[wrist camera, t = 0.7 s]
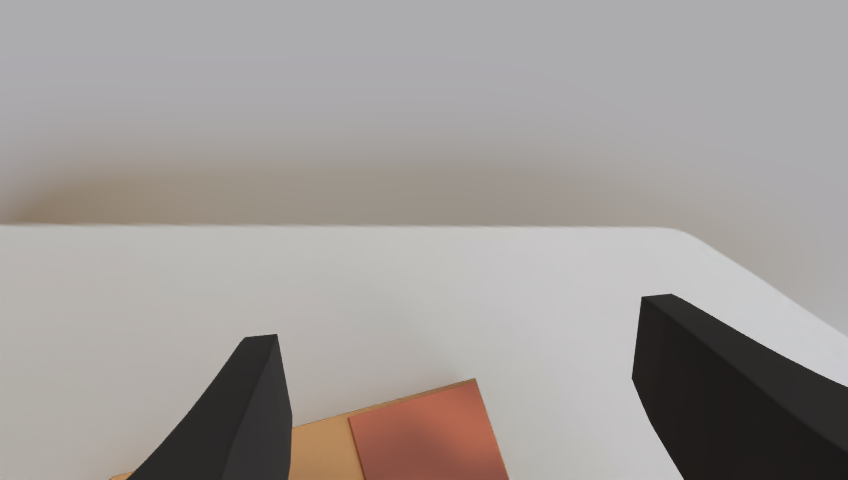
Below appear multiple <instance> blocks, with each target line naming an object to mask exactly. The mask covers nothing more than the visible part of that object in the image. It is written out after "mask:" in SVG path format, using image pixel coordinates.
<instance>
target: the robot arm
mask: <svg viewBox="0 0 848 480" xmlns="http://www.w3.org/2000/svg"><path fill="white" fill-rule="evenodd" d="M632 380H633V382H634V385H635V387H636V390H637V392H638V395H639V397H640V400H641V402H642V405H643V407H644V409H645V411H646V414H647V416H648V418H649V421H650V423H651V424H652V426H653V428H654V430H655V431H656V433H657V435H658V437H659V438H660V440H661V442H662V443H663V445H664V447H665V448H666V450H667V452H668V454H669V455H670V457H671V459H672V460H673V462H674V464H675V465H676V467H677V469H678V470H679V472H680V474H681V475H682V477H683V479H684V480H848V387H846V386H844V385H841V384H839V383H837V382H835V381H832V380H830V379H828V378H826V377H824V376H822V375H819V374H817V373H815V372H813V371H811V370H809V369H807V368H805V367H803V366H802V365H800V364H798V363H796V362H794V361H792V360H790V359H788V358H786V357H784V356H782V355H780V354H778V353H776V352H774V351H773V350H771V349H769V348H767V347H765V346H763V345H762V344H760V343H758V342H756V341H754V340H753V339H751V338H749V337H747V336H746V335H744V334H742V333H740V332H739V331H737V330H735V329H733V328H732V327H730V326H728V325H727V324H725V323H723V322H721V321H720V320H718V319H716V318H715V317H713V316H711V315H709V314H708V313H706V312H704V311H703V310H701V309H699V308H697V307H696V306H694V305H692V304H690V303H688V302H687V301H685V300H683V299H681V298H679V297H677V296H675V295H673V294H664V295H654V296H645V297H642V298H641V307H640V315H639V323H638V331H637V339H636V348H635V356H634V364H633V372H632ZM291 443H292V411H291V406H290V401H289V395H288V390H287V385H286V379H285V374H284V369H283V363H282V358H281V353H280V347H279V342H278V336H277V334H272V335H263V336H253V337H245V338H244V339H243V340H242V341H241V342H240V344H239V345H238V346H237V348H236V349H235V351H234V352H233V353H232V355H231V356H230V358H229V359H228V361H227V362H226V363H225V365H224V366H223V368H222V369H221V370H220V372H219V373H218V374H217V376H216V377H215V379H214V380H213V381H212V383H211V384H210V385H209V387H208V388H207V389H206V390H205V392H204V393H203V394H202V396H201V397H200V398H199V399H198V401H197V402H196V403H195V405H194V406H193V407H192V408H191V410H190V411H189V412H188V413H187V415H186V416H185V417H184V418H183V419H182V421H181V422H180V423H179V424H178V425H177V426H176V427H175V429H174V430H173V431H172V432H171V433H170V434H169V435H168V437H167V438H166V439H165V440H164V441H163V442H162V444H161V445H160V446H159V447H158V448H157V449H156V450H155V451H154V452H153V453H152V454H151V455H150V456H149V457H148V458H147V460H146V461H145V462H144V463H143V464H142V465H141V466H140V467H139V468H138V469H136V470H135V471H134V472H133V473H132V474H131V475H130V476H129V477H128V478H127V479H126V480H288V478H289V471H290V464H291Z"/></svg>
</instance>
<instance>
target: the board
mask: <svg viewBox="0 0 848 480" xmlns="http://www.w3.org/2000/svg"><path fill="white" fill-rule="evenodd" d="M133 472H134V471H133ZM133 472H129V473H125V474H122V475H118V476H114V477H112V478H110V479H109V480H126V479H127V478H128V477H129V476H130V475H131V474H132V473H133ZM288 480H509V477H508V474H507V471H506V468H505V465H504V462H503V459H502V456H501V453H500V450H499V447H498V444H497V441H496V438H495V436H494V433H493V430H492V427H491V424H490V421H489V418H488V415H487V412H486V409H485V406H484V403H483V400H482V397H481V394H480V391H479V388H478V385H477V382H476V379H475V378H473V379H470V380H466V381H462V382H459V383H455V384H451V385H448V386H444V387H440V388H437V389H433V390H429V391H426V392H422V393H418V394H415V395H411V396H407V397H404V398H400V399H396V400H393V401H389V402H385V403H382V404H378V405H374V406H371V407H367V408H363V409H360V410H356V411H352V412H349V413H345V414H341V415H338V416H334V417H331V418H327V419H323V420H320V421H316V422H312V423H309V424H305V425H301V426H298V427H294V428H292V443H291V464H290V471H289V478H288Z"/></svg>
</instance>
